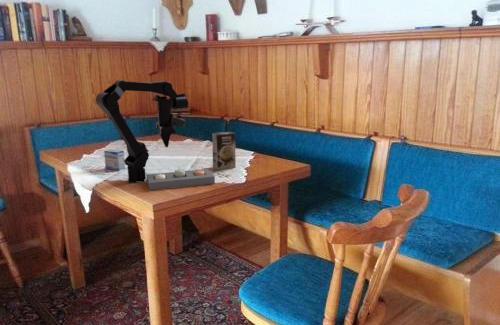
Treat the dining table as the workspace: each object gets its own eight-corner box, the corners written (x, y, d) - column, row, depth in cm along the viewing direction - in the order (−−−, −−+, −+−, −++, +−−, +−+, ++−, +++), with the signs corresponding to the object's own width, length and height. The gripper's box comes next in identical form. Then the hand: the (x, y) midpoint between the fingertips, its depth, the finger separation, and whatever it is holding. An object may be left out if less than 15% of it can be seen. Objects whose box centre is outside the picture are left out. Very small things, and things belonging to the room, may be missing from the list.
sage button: (176, 179, 172) (175, 172, 171) (174, 177, 176) (174, 170, 175) (185, 178, 173) (185, 171, 173) (184, 176, 177) (184, 169, 176)
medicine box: (105, 169, 196) (103, 150, 194) (111, 166, 200) (110, 148, 198) (119, 171, 193) (117, 152, 191) (125, 168, 197) (124, 150, 195)
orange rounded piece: (195, 180, 175) (195, 173, 174) (194, 177, 179) (193, 171, 178) (205, 179, 176) (205, 172, 175) (203, 177, 180) (203, 170, 179)
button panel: (149, 190, 166) (149, 182, 165) (146, 181, 177) (146, 174, 176) (214, 183, 174) (214, 176, 173) (208, 175, 185) (208, 168, 184)
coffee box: (218, 170, 193) (217, 135, 189) (212, 166, 198) (211, 132, 194) (236, 167, 197) (235, 133, 193) (230, 164, 202) (229, 130, 198)
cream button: (156, 184, 170) (155, 177, 169) (155, 181, 174) (154, 174, 173) (166, 183, 171) (165, 176, 171) (165, 180, 175) (164, 173, 174)
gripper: (187, 113, 175) (189, 150, 179) (180, 107, 192) (181, 141, 196) (159, 114, 172) (162, 152, 176) (154, 108, 189) (157, 143, 193)
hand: (166, 146), depth 185 cm, fingers closed
